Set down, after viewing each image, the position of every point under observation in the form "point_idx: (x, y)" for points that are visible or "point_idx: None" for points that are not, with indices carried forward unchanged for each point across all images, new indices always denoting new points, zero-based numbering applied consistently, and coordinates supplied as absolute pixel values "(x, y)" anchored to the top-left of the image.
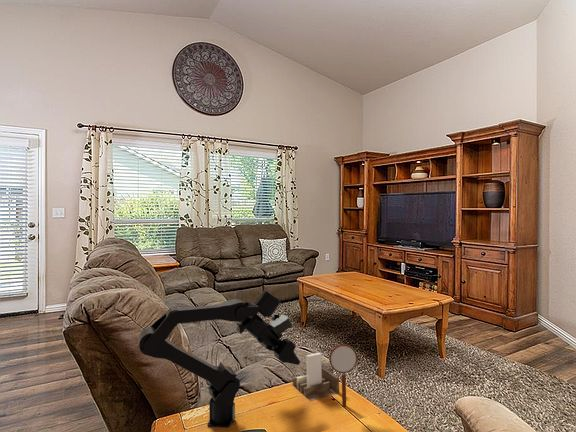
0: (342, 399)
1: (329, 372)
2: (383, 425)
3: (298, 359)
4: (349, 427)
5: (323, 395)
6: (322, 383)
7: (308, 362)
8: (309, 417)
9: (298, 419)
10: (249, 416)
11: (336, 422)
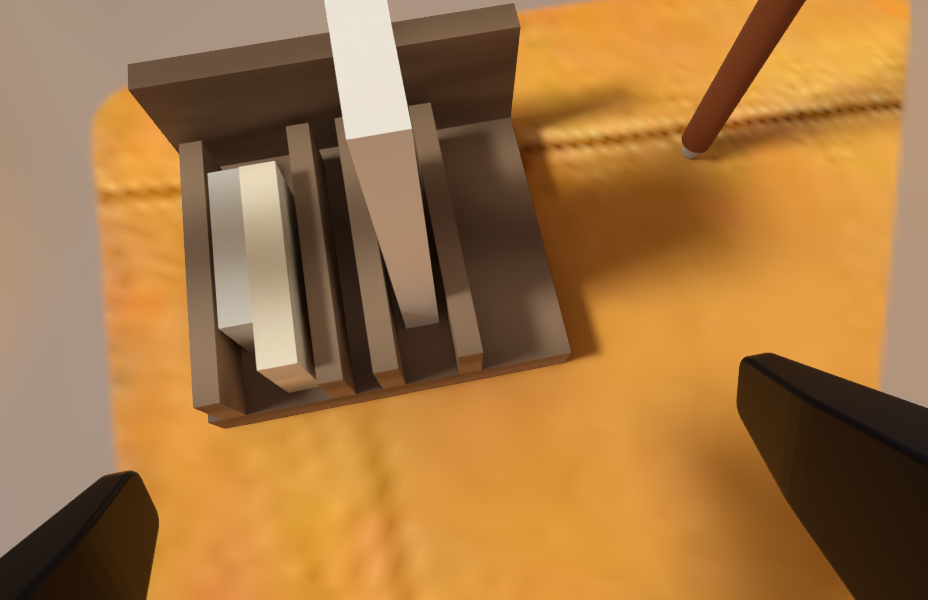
0: (723, 115)
1: None
2: (889, 16)
3: (859, 387)
4: (895, 201)
5: (508, 218)
6: (428, 166)
7: (418, 178)
8: (732, 423)
9: (748, 522)
10: None
11: (826, 257)
